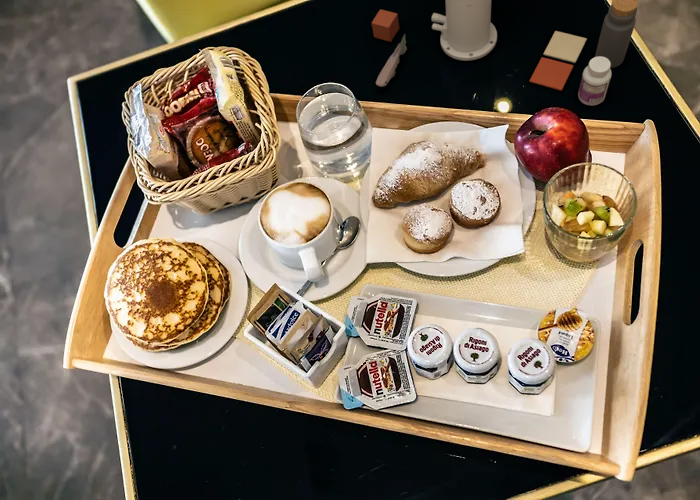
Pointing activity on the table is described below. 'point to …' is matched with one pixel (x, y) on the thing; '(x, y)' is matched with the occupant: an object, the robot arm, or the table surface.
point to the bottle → (617, 31)
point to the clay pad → (551, 73)
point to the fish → (391, 64)
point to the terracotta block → (385, 25)
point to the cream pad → (565, 46)
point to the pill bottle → (595, 81)
